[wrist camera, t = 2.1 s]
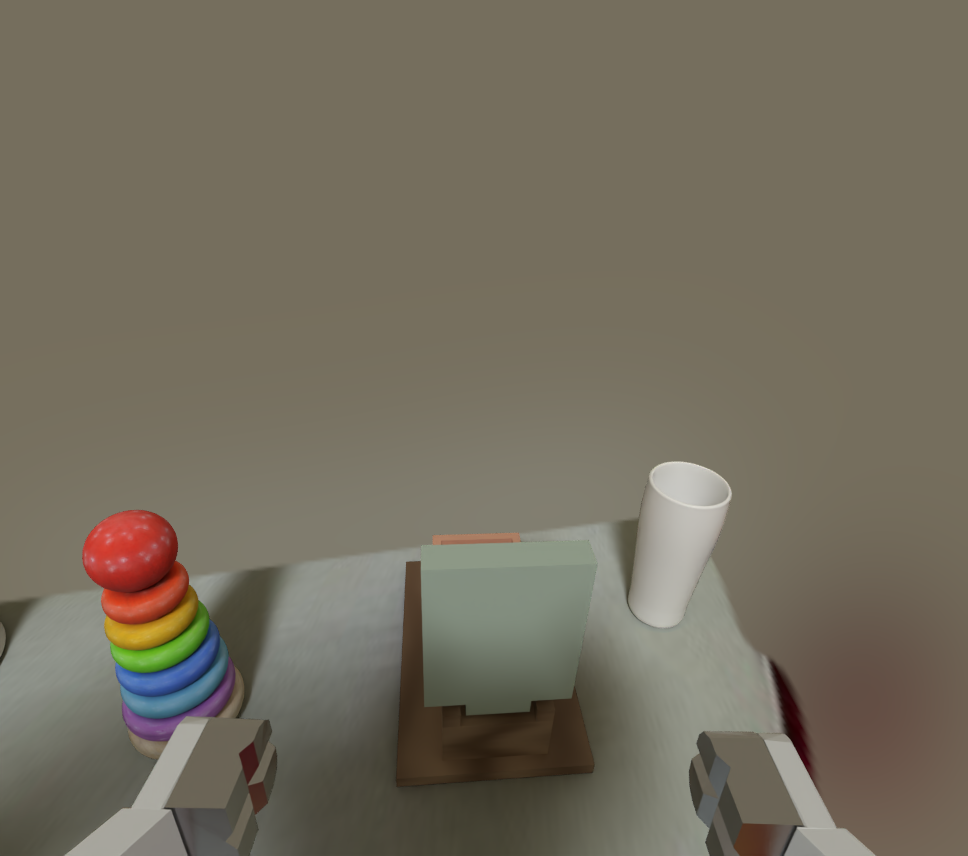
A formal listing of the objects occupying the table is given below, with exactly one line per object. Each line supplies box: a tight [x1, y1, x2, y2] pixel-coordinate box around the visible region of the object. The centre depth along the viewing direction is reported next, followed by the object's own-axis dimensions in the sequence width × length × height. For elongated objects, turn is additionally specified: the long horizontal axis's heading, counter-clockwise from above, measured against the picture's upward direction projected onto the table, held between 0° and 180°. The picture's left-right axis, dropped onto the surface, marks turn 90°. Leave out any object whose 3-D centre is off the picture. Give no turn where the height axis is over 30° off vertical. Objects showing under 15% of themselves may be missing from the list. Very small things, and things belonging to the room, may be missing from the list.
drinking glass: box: [628, 462, 732, 628], centre depth 49 cm, size 7×7×15 cm
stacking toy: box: [82, 510, 244, 760], centre depth 38 cm, size 8×8×19 cm
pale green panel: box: [421, 540, 598, 715], centre depth 35 cm, size 10×2×14 cm, turn 95°
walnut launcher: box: [396, 561, 594, 787], centre depth 47 cm, size 14×21×6 cm, turn 5°
